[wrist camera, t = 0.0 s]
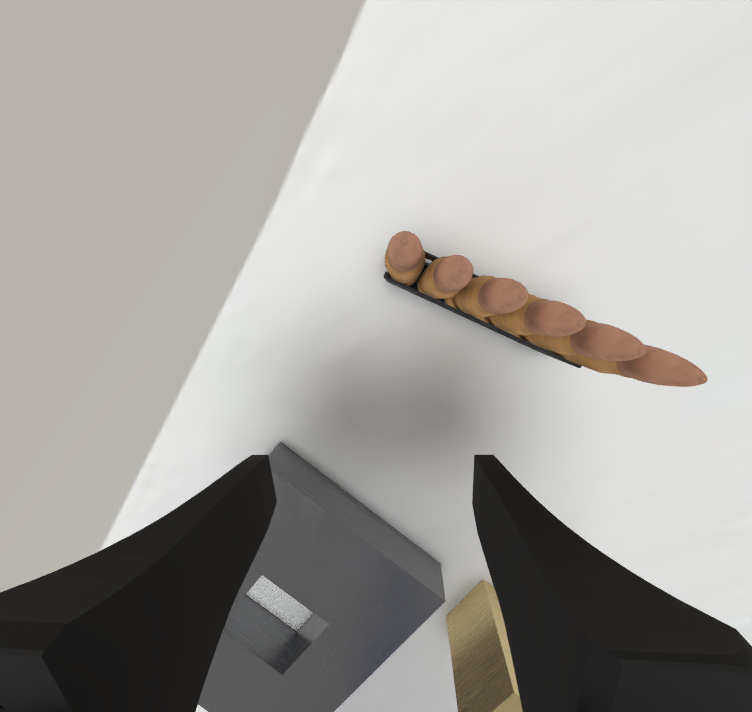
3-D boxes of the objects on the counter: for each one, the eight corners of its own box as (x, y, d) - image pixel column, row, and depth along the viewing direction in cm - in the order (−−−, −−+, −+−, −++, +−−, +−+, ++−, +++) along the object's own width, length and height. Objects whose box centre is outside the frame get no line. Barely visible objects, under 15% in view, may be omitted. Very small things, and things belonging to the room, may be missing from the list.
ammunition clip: (384, 280, 21) (358, 259, 9) (397, 251, 21) (386, 192, 9) (542, 353, 21) (716, 425, 9) (558, 326, 21) (758, 364, 9)
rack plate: (294, 713, 27) (279, 767, 24) (151, 609, 27) (117, 651, 24) (440, 564, 24) (445, 604, 21) (280, 442, 24) (261, 464, 20)
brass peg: (489, 648, 25) (521, 782, 18) (446, 615, 25) (461, 738, 18) (527, 613, 24) (576, 738, 17) (483, 579, 24) (514, 692, 17)
